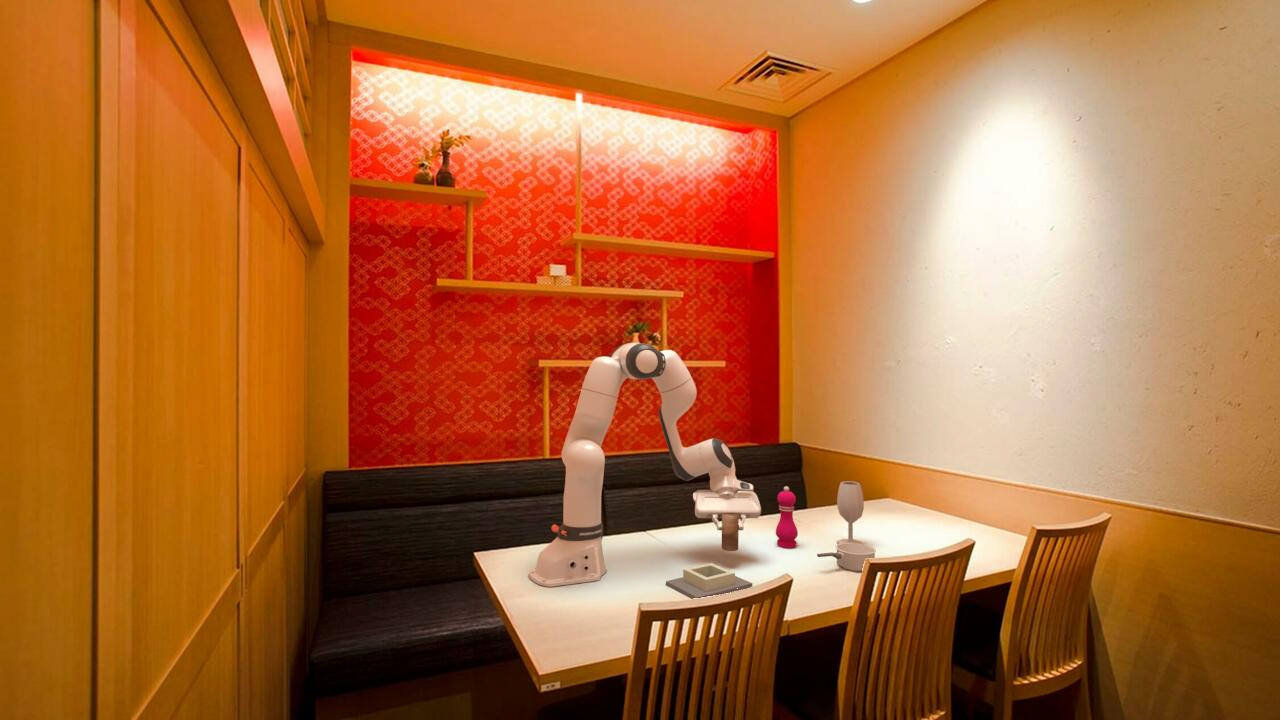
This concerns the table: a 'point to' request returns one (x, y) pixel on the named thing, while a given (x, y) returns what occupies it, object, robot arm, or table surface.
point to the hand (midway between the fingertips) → (730, 529)
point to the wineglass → (850, 507)
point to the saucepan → (851, 555)
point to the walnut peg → (730, 532)
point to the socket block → (707, 581)
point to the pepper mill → (786, 520)
